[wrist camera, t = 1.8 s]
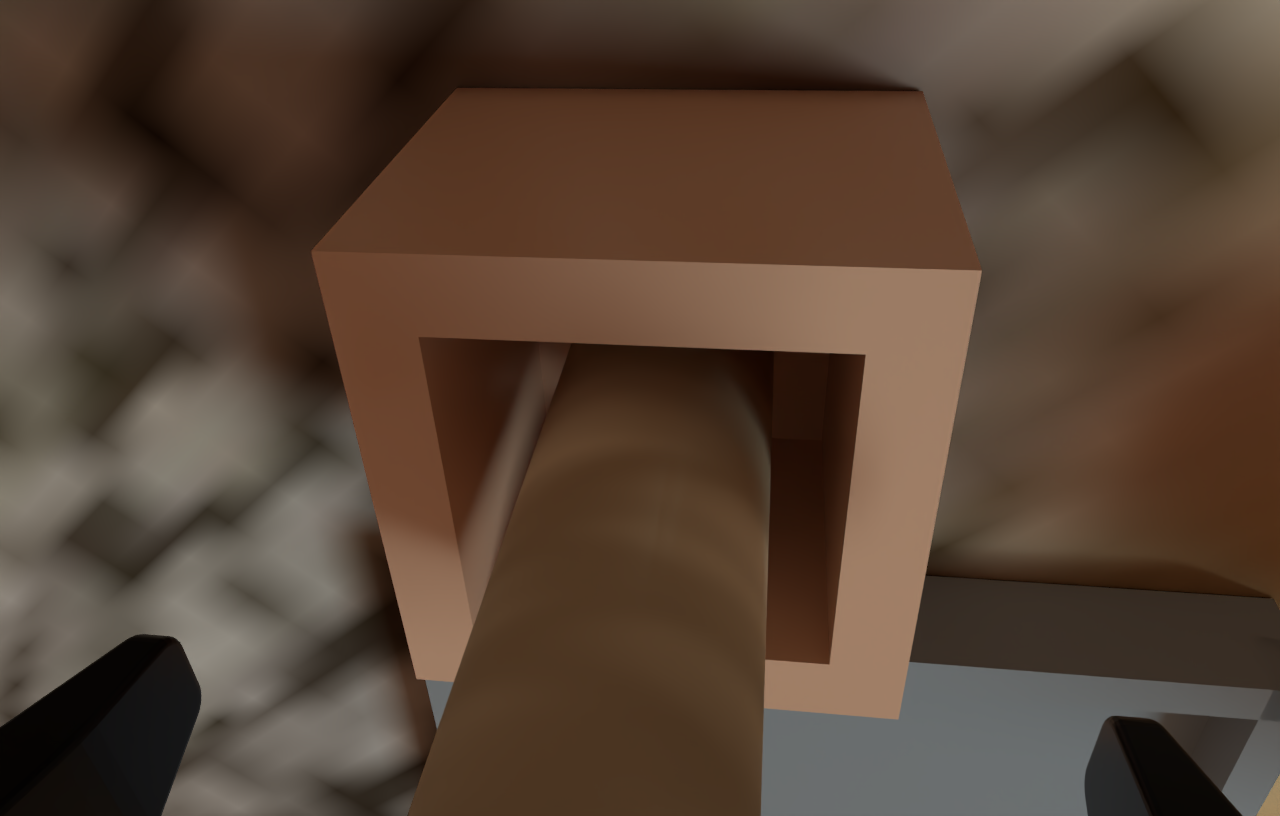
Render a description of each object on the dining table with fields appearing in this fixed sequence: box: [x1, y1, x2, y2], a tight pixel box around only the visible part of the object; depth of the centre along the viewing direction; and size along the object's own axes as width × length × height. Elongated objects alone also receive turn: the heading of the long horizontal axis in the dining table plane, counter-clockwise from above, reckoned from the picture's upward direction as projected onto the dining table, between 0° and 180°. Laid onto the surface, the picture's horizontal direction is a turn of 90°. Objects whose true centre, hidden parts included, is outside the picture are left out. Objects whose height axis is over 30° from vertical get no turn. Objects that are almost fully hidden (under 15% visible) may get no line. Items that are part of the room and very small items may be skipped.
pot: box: [311, 88, 982, 720], centre depth 14 cm, size 7×7×6 cm
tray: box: [425, 576, 1280, 816], centre depth 22 cm, size 16×12×2 cm
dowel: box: [407, 343, 774, 816], centre depth 11 cm, size 3×3×11 cm
